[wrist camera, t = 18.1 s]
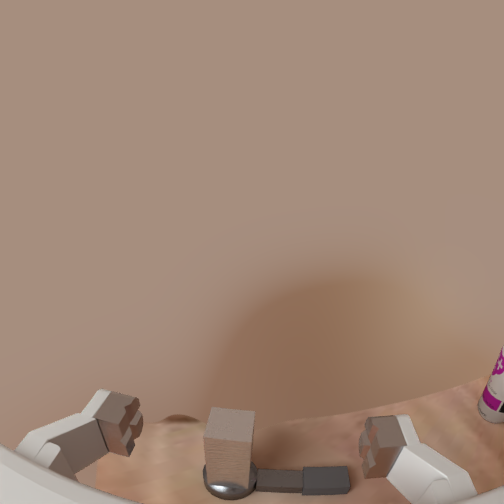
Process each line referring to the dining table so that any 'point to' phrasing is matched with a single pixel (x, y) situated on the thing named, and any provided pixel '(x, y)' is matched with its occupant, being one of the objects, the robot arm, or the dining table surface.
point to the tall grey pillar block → (229, 447)
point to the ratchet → (288, 482)
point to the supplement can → (494, 394)
